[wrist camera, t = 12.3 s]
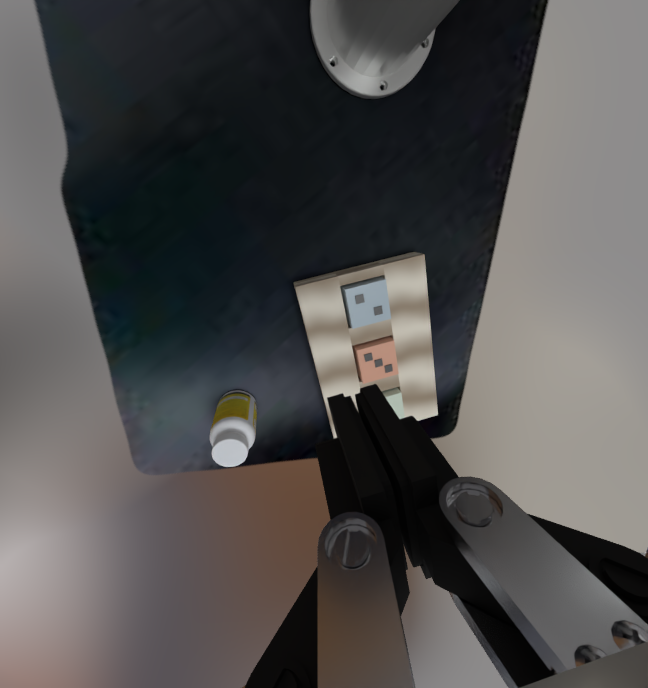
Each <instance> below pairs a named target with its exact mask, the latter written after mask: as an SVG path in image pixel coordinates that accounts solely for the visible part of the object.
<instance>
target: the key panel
mask: <svg viewBox="0 0 648 688" xmlns="http://www.w3.org/2000/svg"><path fill="white" fill-rule="evenodd" d="M377 276H380V277H382V278H384V279H386V284H387V291H388V299H389V306H390V313H391V319H388V320H384V321H381V322H377V323H373V324H369V325H366V326H362V327H358V328H354V329H352V328H351V326H350V325H349V324H348V322H347V319H346V314H345V308H344V303H343V298H342V293H341V288H340V286H342V285H346V284H350V283H354V282H358V281H362V280H366V279H369V278H373V277H377ZM293 283H294V287H295V291H296V294H297V298H298V302H299V306H300V310H301V314H302V318H303V322H304V325H305V329H306V333H307V337H308V341H309V345H310V349H311V353H312V356H313V360H314V364H315V368H316V372H317V376H318V380H319V384H320V387H321V391H322V395H323V399H324V403H325V407H326V411H327V415H328V418H329V422H330V426H331V430H332V434H333V437H334V438H337V435H336V431H335V428H334V424H333V420H332V416H331V412H330V408H329V404H328V400H327V397H331V396H334V395H338V394H341V393H343V394H344V397H347V396H351V398H352V400H353V402H354V404H355V406H356V409H357V411H358V408H357V403H356V398H355V394H358V393H360V388H363V387H366V386H370V385H373V384H377V385H378V387H379V389H380V390H381V391H385V390H388V389H392V388H395V387H397V388H398V389H399V390H400V391H401V393H402V401H403V408H404V415H405V417H408V416H413V417H414V418H415V419H416V420H417V421H419V420H422V419H425V418H429V417H432V416H436V415H438V410H437V398H436V386H435V374H434V362H433V350H432V339H431V327H430V315H429V303H428V291H427V279H426V267H425V255H424V254H421V253H417V252H411V253H407V254H403V255H399V256H395V257H391V258H388V259H384V260H380V261H376V262H372V263H368V264H364V265H360V266H356V267H352V268H348V269H344V270H340V271H336V272H332V273H328V274H324V275H320V276H316V277H312V278H308V279H305V280H301V281H297V282H293ZM386 336H390V337H391V338H392V339H393V340H394V343H395V350H396V357H397V364H398V372H399V374H397V375H393V376H390V377H386V378H383V379H379V380H375V381H372V382H368V383H365V384H363V383H362V381H361V379H360V378H359V376H358V374H357V369H356V364H355V359H354V354H353V349H352V346H353V345H357V344H361V343H364V342H368V341H372V340H375V339H379V338H383V337H386ZM358 413H359V412H358Z"/></svg>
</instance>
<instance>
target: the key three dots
mask: <svg viewBox="0 0 648 688" xmlns="http://www.w3.org/2000/svg"><path fill="white" fill-rule="evenodd" d="M352 349H353V354H354V359H355V364H356V369H357V374H358V376H359V378H360V379H361V381H362V383H363V384H365V383H368V382H372V381H375V380H379V379H383V378H386V377H390V376H393V375H397V374H399V372H398V364H397V357H396V350H395V343H394V340H393V339H392V338H391V337H390V336H386V337H383V338H379V339H375V340H372V341H368V342H364V343H361V344H357V345H353V346H352Z"/></svg>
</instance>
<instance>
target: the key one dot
mask: <svg viewBox="0 0 648 688" xmlns="http://www.w3.org/2000/svg"><path fill="white" fill-rule="evenodd" d="M381 392H382V393H383V395H384V396H385V398H386V399H387V401H388V402H389V404H390V405H391V407H392V408H393V410H394V411H395V413H396V414H397V416H398V417H399V419H402V418H405V415H404V408H403V401H402V393H401V391H400V390H399V389H398V388H397V387H395V388H392V389H388V390H385V391H381Z"/></svg>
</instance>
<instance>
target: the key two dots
mask: <svg viewBox="0 0 648 688" xmlns="http://www.w3.org/2000/svg"><path fill="white" fill-rule="evenodd" d="M340 288H341V293H342V298H343V303H344V308H345V314H346V319H347V322H348V324H349V325H350V326H351V328H352V329H354V328H358V327H362V326H366V325H369V324H373V323H377V322H381V321H384V320H388V319H391V313H390V306H389V299H388V291H387V284H386V279H384V278H382V277H380V276H377V277H373V278H369V279H366V280H362V281H358V282H354V283H350V284H346V285H342V286H340Z"/></svg>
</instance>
